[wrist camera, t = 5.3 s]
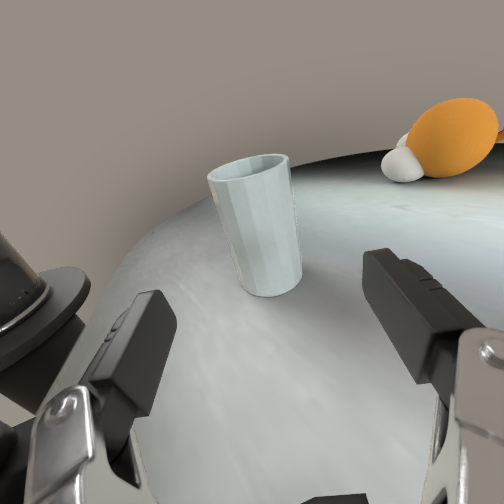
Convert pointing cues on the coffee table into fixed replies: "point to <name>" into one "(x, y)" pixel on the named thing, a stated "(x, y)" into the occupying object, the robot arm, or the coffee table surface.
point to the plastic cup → (259, 222)
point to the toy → (444, 141)
